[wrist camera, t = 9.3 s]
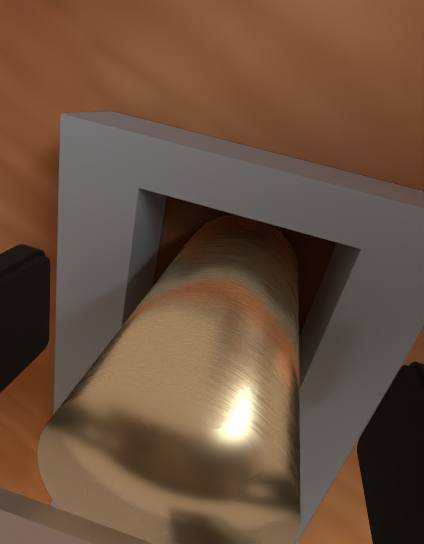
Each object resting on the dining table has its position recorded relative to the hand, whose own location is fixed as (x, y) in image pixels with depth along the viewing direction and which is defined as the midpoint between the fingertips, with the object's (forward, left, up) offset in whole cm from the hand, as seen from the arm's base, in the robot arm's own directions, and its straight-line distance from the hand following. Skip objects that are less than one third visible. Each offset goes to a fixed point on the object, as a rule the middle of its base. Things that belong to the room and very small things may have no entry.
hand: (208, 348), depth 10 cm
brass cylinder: (0, 0, -5) cm, 5 cm away
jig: (+4, 0, -5) cm, 7 cm away
